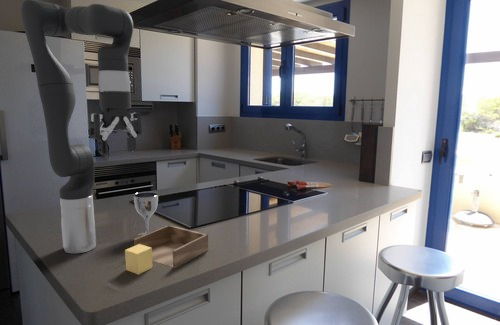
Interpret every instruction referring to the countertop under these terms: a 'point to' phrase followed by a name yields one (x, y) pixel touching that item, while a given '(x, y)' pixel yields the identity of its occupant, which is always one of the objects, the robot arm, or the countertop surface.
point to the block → (138, 259)
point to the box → (174, 245)
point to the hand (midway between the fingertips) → (118, 153)
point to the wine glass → (146, 206)
